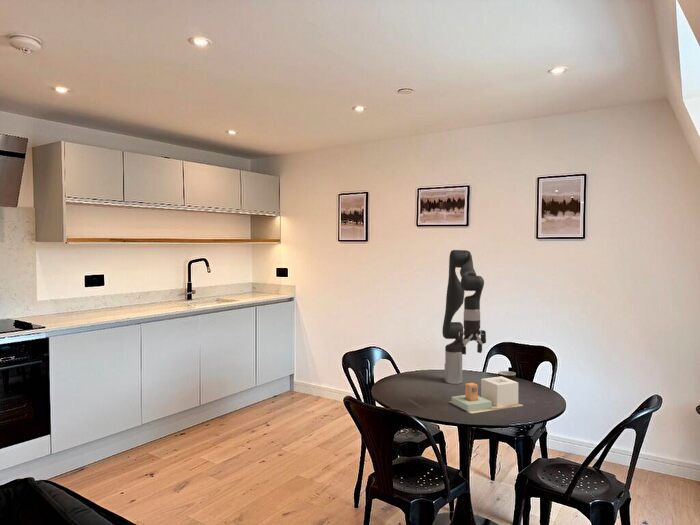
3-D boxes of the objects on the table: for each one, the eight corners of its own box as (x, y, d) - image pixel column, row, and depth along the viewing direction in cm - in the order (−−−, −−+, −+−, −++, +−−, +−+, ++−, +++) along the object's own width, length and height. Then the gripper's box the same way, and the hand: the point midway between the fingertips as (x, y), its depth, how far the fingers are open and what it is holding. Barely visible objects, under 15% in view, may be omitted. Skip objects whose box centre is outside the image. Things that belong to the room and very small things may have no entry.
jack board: (448, 403, 229) (448, 401, 229) (498, 396, 240) (498, 394, 239) (471, 415, 212) (471, 413, 212) (523, 407, 223) (523, 405, 223)
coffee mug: (515, 390, 249) (515, 371, 249) (516, 395, 241) (516, 375, 241) (491, 389, 253) (492, 370, 252) (492, 393, 244) (492, 374, 244)
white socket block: (481, 399, 232) (481, 378, 232) (501, 396, 237) (501, 376, 236) (497, 406, 221) (497, 385, 221) (518, 403, 225) (518, 382, 225)
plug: (465, 404, 224) (465, 383, 224) (472, 403, 225) (472, 382, 225) (471, 407, 220) (471, 386, 219) (478, 406, 221) (478, 385, 221)
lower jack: (451, 403, 227) (451, 396, 226) (474, 399, 231) (474, 393, 231) (467, 411, 214) (467, 405, 214) (491, 408, 219) (491, 401, 219)
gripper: (479, 316, 229) (479, 350, 229) (454, 318, 223) (454, 353, 224) (489, 319, 222) (489, 353, 222) (463, 320, 216) (463, 356, 217)
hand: (471, 353), depth 223 cm, fingers open, 8 cm apart
